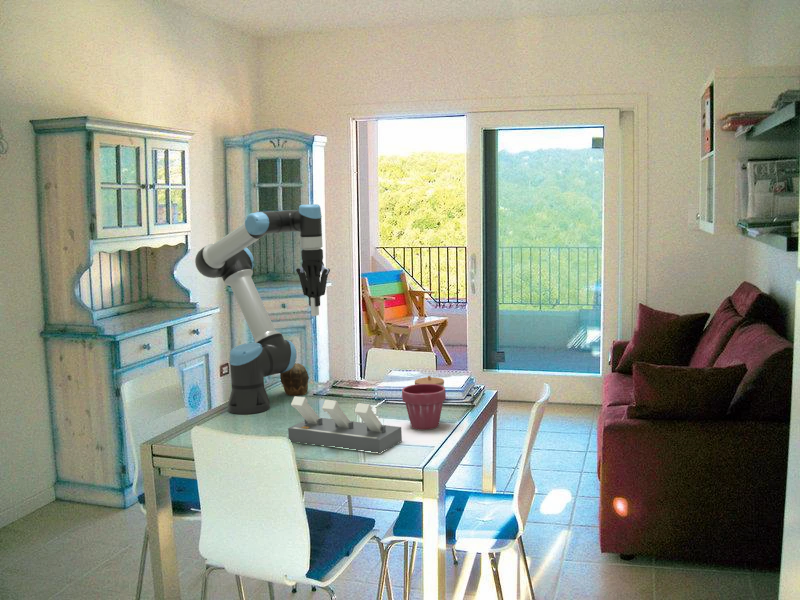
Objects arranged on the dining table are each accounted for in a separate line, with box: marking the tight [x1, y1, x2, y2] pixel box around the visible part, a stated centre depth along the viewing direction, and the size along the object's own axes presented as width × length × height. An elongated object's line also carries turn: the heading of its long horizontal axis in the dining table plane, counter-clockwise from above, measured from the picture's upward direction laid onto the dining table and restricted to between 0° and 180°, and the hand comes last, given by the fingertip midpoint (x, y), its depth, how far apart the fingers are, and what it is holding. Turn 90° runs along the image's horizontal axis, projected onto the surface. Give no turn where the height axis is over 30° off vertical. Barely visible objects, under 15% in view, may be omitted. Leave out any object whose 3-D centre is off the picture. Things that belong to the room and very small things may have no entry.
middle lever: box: [321, 399, 351, 427], centre depth 267 cm, size 3×4×12 cm
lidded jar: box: [414, 375, 445, 387], centre depth 316 cm, size 11×11×9 cm
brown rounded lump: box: [279, 362, 310, 397], centre depth 334 cm, size 11×11×12 cm
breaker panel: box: [287, 417, 403, 454], centre depth 271 cm, size 14×33×7 cm, turn 62°
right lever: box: [354, 402, 383, 431], centre depth 261 cm, size 3×4×12 cm
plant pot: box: [401, 383, 447, 431], centre depth 284 cm, size 14×14×13 cm
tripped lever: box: [290, 396, 320, 424], centre depth 272 cm, size 3×4×12 cm
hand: (315, 315), depth 305 cm, fingers closed
